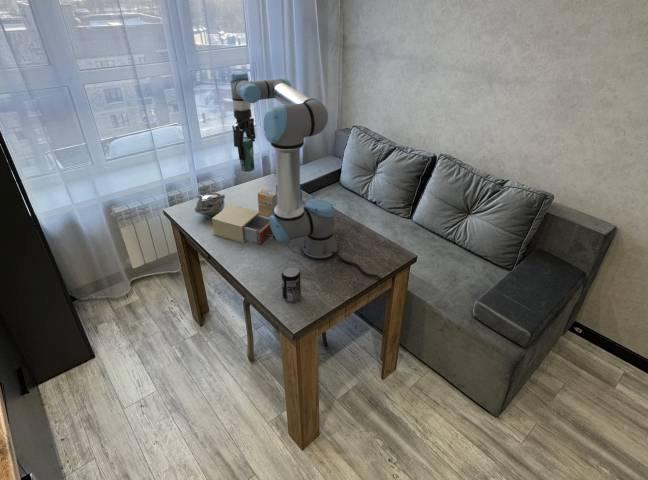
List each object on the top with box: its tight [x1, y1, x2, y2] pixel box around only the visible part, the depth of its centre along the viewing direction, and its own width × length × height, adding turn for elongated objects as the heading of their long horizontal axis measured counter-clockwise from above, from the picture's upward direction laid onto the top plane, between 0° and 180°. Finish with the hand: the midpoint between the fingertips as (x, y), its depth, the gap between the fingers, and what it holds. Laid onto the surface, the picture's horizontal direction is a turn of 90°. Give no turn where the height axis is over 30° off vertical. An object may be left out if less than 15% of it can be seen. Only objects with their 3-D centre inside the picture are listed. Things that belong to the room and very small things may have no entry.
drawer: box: [243, 215, 277, 246], centre depth 177 cm, size 20×13×7 cm, turn 68°
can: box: [239, 136, 255, 173], centre depth 187 cm, size 6×6×15 cm
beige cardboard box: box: [211, 203, 260, 244], centre depth 180 cm, size 16×14×9 cm
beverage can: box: [281, 265, 302, 302], centre depth 144 cm, size 7×7×12 cm
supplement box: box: [257, 188, 277, 218], centre depth 191 cm, size 8×5×13 cm, turn 68°
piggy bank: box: [194, 192, 226, 220], centre depth 190 cm, size 11×15×12 cm
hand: (246, 157), depth 187 cm, fingers closed on can, 6 cm apart
